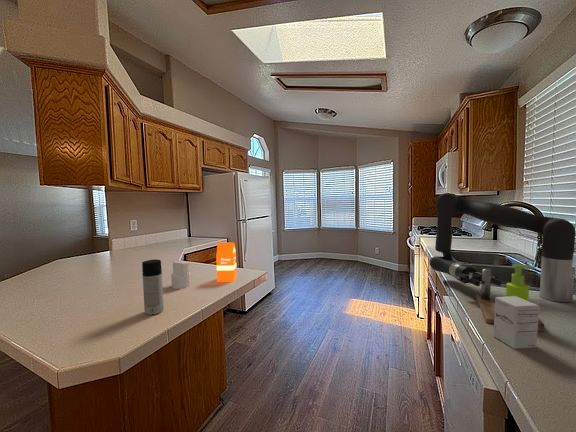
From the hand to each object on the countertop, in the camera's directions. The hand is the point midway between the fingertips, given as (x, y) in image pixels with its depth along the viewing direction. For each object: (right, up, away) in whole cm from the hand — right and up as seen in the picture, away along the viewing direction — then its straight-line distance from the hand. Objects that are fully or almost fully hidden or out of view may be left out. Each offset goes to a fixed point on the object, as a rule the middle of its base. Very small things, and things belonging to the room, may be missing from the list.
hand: (489, 283), depth 110 cm
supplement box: (-12, -11, -27) cm, 32 cm away
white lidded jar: (-133, -8, +29) cm, 136 cm away
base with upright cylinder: (0, -9, -7) cm, 12 cm away
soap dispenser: (-1, -10, -15) cm, 18 cm away
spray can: (-132, -11, -2) cm, 132 cm away
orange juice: (-112, -7, +39) cm, 119 cm away
